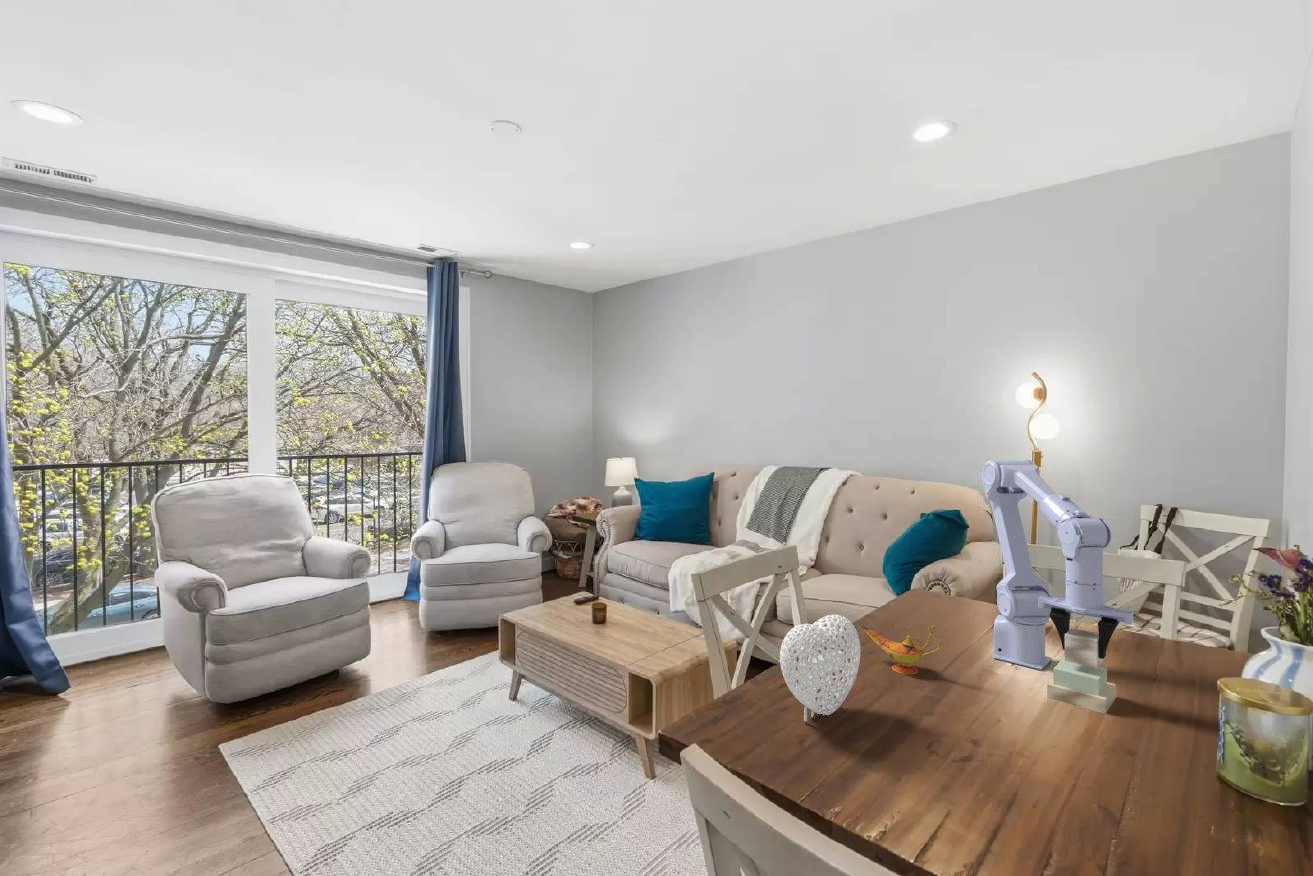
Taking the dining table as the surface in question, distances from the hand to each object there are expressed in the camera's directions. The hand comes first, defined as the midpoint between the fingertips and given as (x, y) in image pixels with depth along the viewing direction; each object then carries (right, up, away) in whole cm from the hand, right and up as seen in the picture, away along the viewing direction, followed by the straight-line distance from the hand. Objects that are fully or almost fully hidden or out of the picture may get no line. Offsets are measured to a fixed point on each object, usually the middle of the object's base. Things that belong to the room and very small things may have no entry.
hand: (1083, 653), depth 113 cm
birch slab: (0, -9, 0) cm, 9 cm away
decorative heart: (-51, -10, -5) cm, 52 cm away
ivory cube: (0, -1, 0) cm, 1 cm away
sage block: (-1, -6, 0) cm, 6 cm away
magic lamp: (-29, -9, +15) cm, 34 cm away
